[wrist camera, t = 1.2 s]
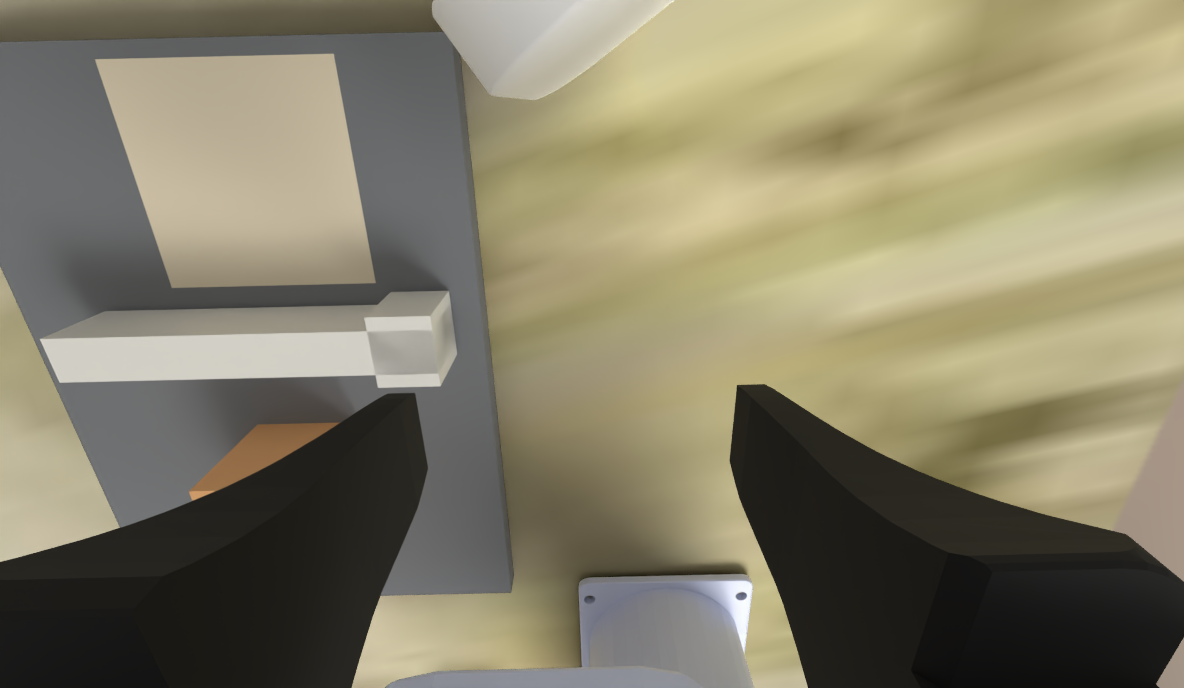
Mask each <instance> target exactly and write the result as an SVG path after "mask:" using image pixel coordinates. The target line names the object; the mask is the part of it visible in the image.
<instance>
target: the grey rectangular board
mask: <svg viewBox="0 0 1184 688" xmlns="http://www.w3.org/2000/svg"><path fill="white" fill-rule="evenodd" d="M0 267H1V269H2V271H3V273H4V275H5V278H6V280H7V282H8V284H9V286H10V288H11V291H12V293H13V295H14V297H15V299H16V302H17V304H18V306H19V308H20V310H21V312H22V315H23V317H24V319H25V321H26V323H27V326H28V328H29V330H30V332H31V334H32V336H33V339H34V341H35V343H36V345H37V347H38V350H39V352H40V354H41V356H42V358H43V360H44V363H45V365H46V367H47V369H48V371H49V374H50V376H51V378H52V380H53V382H54V384H55V387H56V389H57V391H58V393H59V395H60V398H61V400H62V402H63V404H64V406H65V408H66V411H67V413H68V415H69V417H70V419H71V422H72V424H73V426H74V428H75V430H76V433H77V435H78V437H79V439H80V441H81V443H82V446H83V448H84V450H85V452H86V454H87V457H88V459H89V461H90V463H91V465H92V467H93V470H94V472H95V474H96V476H97V478H98V481H99V483H100V485H101V487H102V489H103V491H104V494H105V496H106V498H107V500H108V502H109V505H110V507H111V509H112V511H113V513H114V515H115V518H116V520H117V522H118V524H119V526H120V528H121V527H124V526H127V525H130V524H133V523H136V522H139V521H141V520H144V519H147V518H150V517H153V516H155V515H158V514H161V513H164V512H166V511H169V510H171V509H174V508H176V507H179V506H181V505H184V504H186V503H188V502H191V501H192V499H191V496H190V494H189V491H190V490H191V489H192V488H193V487H194V486H195V485H196V484H197V483H198V482H199V481H200V480H201V479H202V478H203V477H204V476H205V475H206V474H207V473H208V472H209V471H210V470H211V469H212V468H213V467H214V466H215V465H216V464H217V463H218V462H220V461H221V460H222V459H223V458H224V457H225V456H226V455H227V454H228V453H229V452H230V451H231V450H232V449H233V448H234V447H235V446H236V445H237V444H238V443H239V442H240V441H241V440H242V439H243V438H244V437H245V436H246V435H247V434H248V433H249V432H250V431H251V430H252V429H254V428H255V427H256V426H257V425H258V424H300V423H341V422H342V421H344V420H345V419H347V418H348V417H350V416H351V415H353V414H354V413H356V412H357V411H359V410H361V409H362V408H364V407H365V406H367V405H368V404H370V403H372V402H373V401H375V400H377V399H378V398H380V397H382V396H384V395H386V394H388V393H415V395H416V401H417V406H418V412H419V418H420V424H421V430H422V435H423V441H424V447H425V453H426V459H427V464H428V471H427V475H426V479H425V483H424V487H423V491H422V495H421V498H420V502H419V505H418V508H417V511H416V513H415V516H414V518H413V521H412V523H411V525H410V528H409V530H408V532H407V535H406V537H405V540H404V542H403V544H402V547H401V549H400V551H399V554H398V556H397V558H396V560H395V563H394V565H393V567H392V570H391V572H390V574H389V577H388V579H387V581H386V584H385V586H384V588H383V591H382V593H381V595H380V596H390V595H432V594H474V593H511V590H512V584H513V577H514V572H513V562H512V553H511V543H510V533H509V523H508V514H507V504H506V494H505V485H504V475H503V465H502V456H501V446H500V436H499V426H498V417H497V407H496V397H495V388H494V378H493V368H492V358H491V349H490V339H489V329H488V320H487V310H486V300H485V291H484V281H483V271H482V261H481V252H480V242H479V232H478V223H477V213H476V203H475V194H474V184H473V174H472V164H471V155H470V145H469V135H468V126H467V116H466V106H465V97H464V87H463V77H462V67H461V58H460V53H459V52H458V51H457V49H456V48H455V47H454V45H453V44H452V42H451V41H450V40H449V38H448V37H447V35H446V34H445V33H444V32H407V33H364V34H321V35H278V36H235V37H192V38H149V39H106V40H63V41H20V42H0ZM411 291H449V295H450V302H451V310H452V318H453V325H454V333H455V341H456V349H457V355H456V357H455V359H454V361H453V363H452V365H451V367H450V369H449V371H448V373H447V375H446V377H445V379H444V381H443V382H442V384H441V386H436V387H393V388H378V386H377V380H376V375H366V376H323V377H281V378H239V379H196V380H154V381H112V382H70V383H59V380H58V378H57V376H56V374H55V372H54V369H53V367H52V365H51V363H50V361H49V358H48V356H47V354H46V352H45V350H44V347H43V345H42V343H41V341H40V339H41V338H43V337H46V336H48V335H50V334H53V333H55V332H57V331H60V330H62V329H64V328H67V327H69V326H71V325H74V324H76V323H79V322H81V321H83V320H86V319H88V318H90V317H93V316H95V315H97V314H100V313H102V312H104V311H132V310H175V309H217V308H259V307H302V306H344V305H378V304H379V303H380V302H381V301H382V300H383V299H384V298H385V297H386V296H387V295H388V294H389V293H390V292H411Z"/></svg>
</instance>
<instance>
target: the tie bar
mask: <svg viewBox="0 0 1184 688" xmlns="http://www.w3.org/2000/svg"><path fill="white" fill-rule="evenodd" d="M40 341H41V343H42V345H43V347H44V350H45V352H46V354H47V356H48V358H49V361H50V363H51V365H52V367H53V369H54V372H55V374H56V376H57V378H58V380H59V383H70V382H112V381H154V380H196V379H239V378H281V377H323V376H366V375H376V380H377V386H378V388H393V387H436V386H441V384H442V382H443V381H444V379H445V377H446V375H447V373H448V371H449V369H450V367H451V365H452V363H453V361H454V359H455V357H456V355H457V349H456V341H455V333H454V325H453V318H452V310H451V302H450V295H449V291H411V292H390V293H389V294H388V295H387V296H386V297H385V298H384V299H383V300H382V301H381V302H380V303H379V304H378V305H344V306H302V307H259V308H217V309H175V310H132V311H104V312H102V313H100V314H97V315H95V316H93V317H90V318H88V319H86V320H83V321H81V322H79V323H76V324H74V325H71V326H69V327H67V328H64V329H62V330H60V331H57V332H55V333H53V334H50V335H48V336H46V337H43V338H41V339H40Z"/></svg>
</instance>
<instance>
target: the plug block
mask: <svg viewBox="0 0 1184 688" xmlns="http://www.w3.org/2000/svg"><path fill="white" fill-rule="evenodd" d="M337 424H339V423H300V424H258V425H257V426H256V427H255V428H254V429H252V430H251V431H250V432H249V433H248V434H247V435H246V436H245V437H244V438H243V439H242V440H241V441H240V442H239V443H238V444H237V445H236V446H235V447H234V448H233V449H232V450H231V451H230V452H229V453H228V454H227V455H226V456H225V457H224V458H223V459H222V460H221V461H220V462H218V463H217V464H216V465H215V466H214V467H213V468H212V469H211V470H210V471H209V472H208V473H207V474H206V475H205V476H204V477H203V478H202V479H201V480H200V481H199V482H198V483H197V484H196V485H195V486H194V487H193V488H192V489H191V490H190V491H189V494H190V496H191V499H192V501H193V500H196V499H198V498H200V497H203V496H205V495H208V494H210V493H213V492H215V491H217V490H220V489H222V488H224V487H226V486H229V485H231V484H233V483H235V482H237V481H239V480H241V479H243V478H245V477H247V476H249V475H251V474H253V473H255V472H257V471H259V470H261V469H263V468H265V467H267V466H269V465H271V464H273V463H274V462H276V461H278V460H280V459H282V458H283V457H285V456H287V455H288V454H290V453H292V452H293V451H295V450H297V449H298V448H300V447H302V446H304V445H305V444H307V443H309V442H310V441H312V440H314V439H315V438H317V437H319V436H320V435H322V434H323V433H325V432H327V431H328V430H330V429H331V428H333V427H334V426H336V425H337Z"/></svg>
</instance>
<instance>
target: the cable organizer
mask: <svg viewBox="0 0 1184 688" xmlns="http://www.w3.org/2000/svg"><path fill="white" fill-rule="evenodd" d="M673 1H674V0H433V3H432V14H433V17H434V19H435V20H436V22H437V23H438V24H439V26H440V27H441V29H442V30H443V31H444V33H445V34H446V35H447V37H448V38H449V40H450V41H451V42H452V44H453V45H454V47H455V48H456V49H457V51H458V52H459V53H460V55H461V56H462V58H463V59H464V60H465V62H466V63H467V65H468V66H469V67H470V69H471V70H472V71H473V73H474V74H475V76H476V77H477V78H478V80H479V81H480V83H481V84H482V85H483V87H484V88H485V89H486V91H487V92H488V93H489V94H490V95H492V96H498V97H507V98H517V99H527V100H537V99H540V98H543V97H545V96H547V95H549V94H551V93H553V92H555V91H556V90H558V89H560V88H561V87H563V86H564V85H566V84H567V83H569V82H570V81H572V80H573V79H575V78H576V77H578V76H579V75H581V74H582V73H583V72H585V71H586V70H587V69H589V68H590V67H591V66H593V65H594V64H595V63H597V62H598V61H599V60H601V59H602V58H603V57H604V56H606V55H607V54H608V53H609V52H611V51H612V50H613V49H614V48H616V47H617V46H618V45H619V44H621V43H622V42H623V41H624V40H626V39H627V38H628V37H629V36H631V35H632V34H633V33H634V32H636V31H637V30H638V29H639V28H641V27H642V26H643V25H644V24H646V23H647V22H648V21H649V20H651V19H652V18H653V17H654V16H656V15H657V14H658V13H659V12H661V11H662V10H663V9H664V8H665V7H667V6H668V5H669V4H670V3H672V2H673Z"/></svg>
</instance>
